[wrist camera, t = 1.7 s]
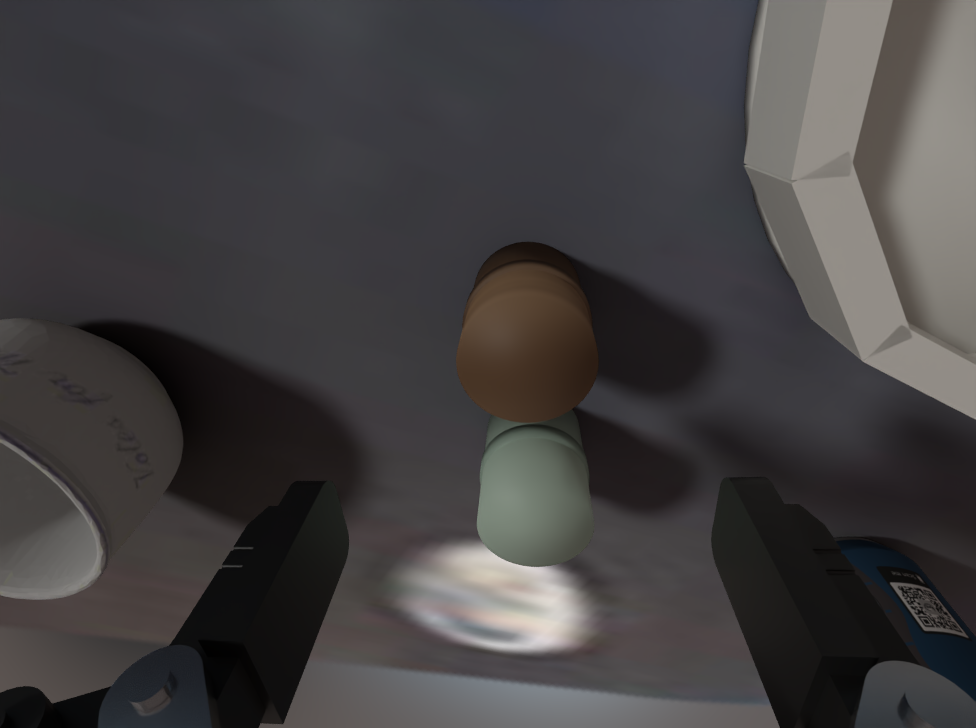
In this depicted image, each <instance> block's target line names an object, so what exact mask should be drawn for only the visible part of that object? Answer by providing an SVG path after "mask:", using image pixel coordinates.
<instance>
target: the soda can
mask: <svg viewBox="0 0 976 728" xmlns="http://www.w3.org/2000/svg"><path fill="white" fill-rule="evenodd" d="M834 540H835V541H836V542H837V544H838V545H839V547H840V548H841V553H842V554H845V556H846V557H847V559H848V560H849V562H850V563H851V565H852V566H853V567H854V569H855V574H856V575H859V576H860V578H861V579H862V581H863V582H864V584H865V585H866V587H867V588H868V590H869V591H870V592H871V594H872V595H873V597H874V598H875V600H876V601H877V603H878V604H879V606H880V607H881V609H882V610H883V612H884V613H885V614H886V616H887V617H888V619H889V620H890V622H891V623H892V625H893V626H894V628H895V629H896V631H897V632H898V634H899V635H900V637H901V638H902V639H903V641H904V642H905V644H906V645H907V647H908V648H909V650H910V651H911V653H912V654H913V656H914V657H915V658H916V660H917V661H918V662H919V664H920V665H921V666H922V667H925V668H927V669H929V670H932V671H934V672H936V673H938V674H939V675H941V676H943V677H945V678H946V679H948V680H949V681H951V682H952V683H954V684H955V685H957V686H958V687H959V688H961V689H962V690H963V691H964V692H966V693H967V694H968V695H969V696H970V697H971V698H972V699H973V700H974V701H975V702H976V637H975V636H974V634H973V633H972V632H971V631H970V629H969V628H968V627H967V626H966V624H965V623H964V622H963V621H962V619H961V618H960V617H959V616H958V615H957V613H956V612H955V611H954V610H953V608H952V607H951V606H950V605H949V603H948V602H947V601H946V600H945V598H944V597H943V596H942V595H941V593H940V592H939V591H938V590H937V589H936V587H935V586H934V585H933V584H932V582H931V581H930V580H929V579H928V577H927V576H926V575H925V574H924V572H923V571H922V570H921V569H920V567H919V566H918V565H917V564H916V563H915V562H914V561H912V560H911V559H910V558H908V557H907V556H905V555H903V554H901V553H899V552H897V551H895V550H893V549H891V548H888V547H886V546H884V545H881V544H879V543H876V542H874V541H871V540H868V539H864V538H858V537H840V538H834Z"/></svg>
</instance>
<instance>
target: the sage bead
mask: <svg viewBox="0 0 976 728" xmlns="http://www.w3.org/2000/svg"><path fill="white" fill-rule="evenodd" d="M480 483H481V491H480V499H479V508H478V517H477V529H478V533H479V536H480V538H481V540H482V541H483V543H484V544H485V546H486V547H487V548H488V549H489V550H490V551H491V552H493V553H494V554H495V555H497V556H498V557H500V558H502V559H504V560H506V561H509V562H511V563H515V564H518V565H523V566H531V567H543V566H551V565H556V564H559V563H562V562H565V561H567V560H570V559H572V558H573V557H575V556H577V555H578V554H579V553H581V552H582V551H583V550H584V549H585V548H586V546H587V545H588V544H589V542H590V540H591V538H592V536H593V533H594V518H593V512H592V505H591V499H590V492H589V470H588V463H587V458H586V455H585V452H584V450H583V446H582V440H581V433H580V427H579V422H578V419H577V417H576V415H575V413H574V411H573V410H572V409H571V410H570V411H568V412H567V413H565V414H563V415H561V416H559V417H556V418H553V419H550V420H547V421H542V422H534V423H520V422H513V421H509V420H505V419H502V418H499V417H496V416H494V415H491V417H490V419H489V422H488V429H487V438H486V447H485V451H484V453H483V456H482V462H481V470H480Z"/></svg>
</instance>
